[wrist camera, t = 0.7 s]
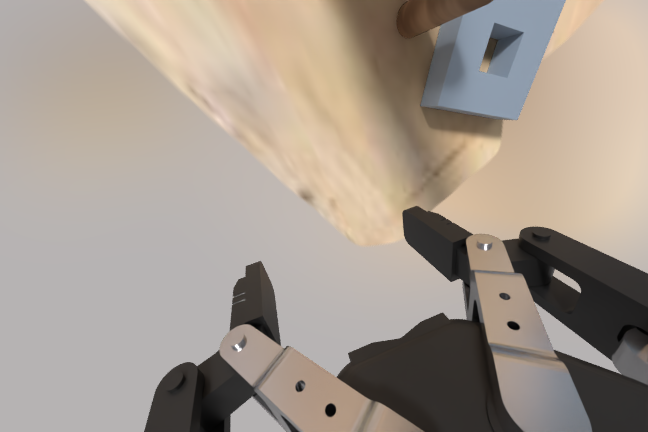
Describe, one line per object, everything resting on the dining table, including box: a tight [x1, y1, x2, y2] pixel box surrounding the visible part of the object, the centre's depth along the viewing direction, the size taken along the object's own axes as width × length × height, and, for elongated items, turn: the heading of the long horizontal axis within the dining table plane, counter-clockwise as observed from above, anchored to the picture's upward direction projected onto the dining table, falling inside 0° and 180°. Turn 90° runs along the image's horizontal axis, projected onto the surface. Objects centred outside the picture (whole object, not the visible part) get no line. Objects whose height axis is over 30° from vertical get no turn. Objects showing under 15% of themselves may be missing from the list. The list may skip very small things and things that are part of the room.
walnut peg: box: [397, 0, 493, 38], centre depth 27 cm, size 4×4×12 cm
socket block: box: [420, 0, 566, 120], centre depth 35 cm, size 16×16×4 cm
